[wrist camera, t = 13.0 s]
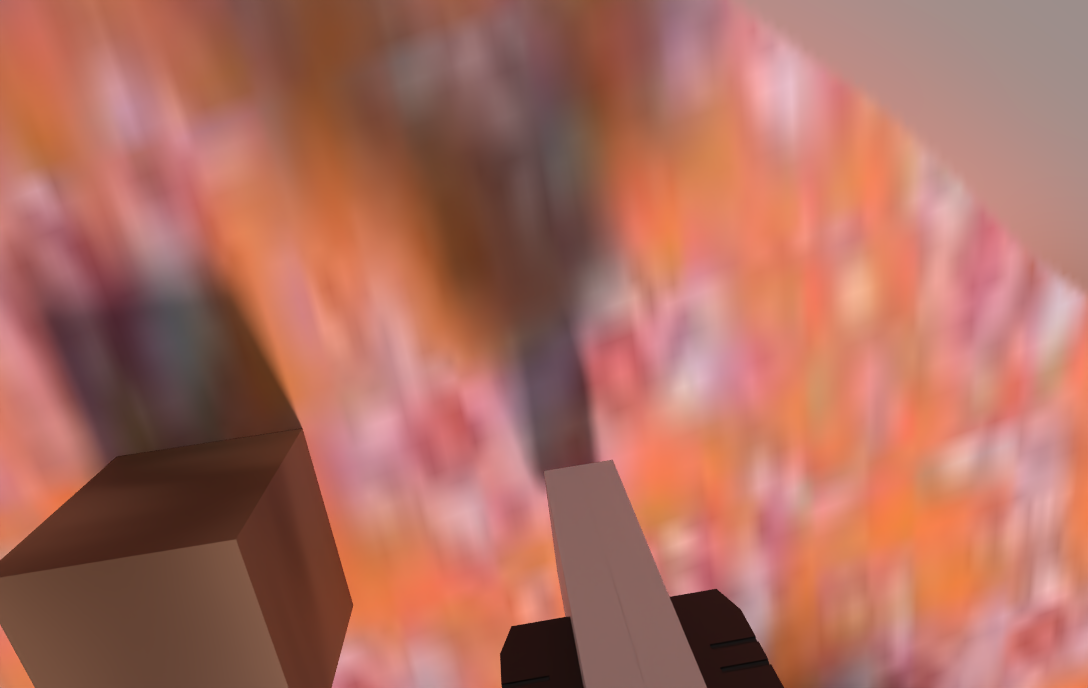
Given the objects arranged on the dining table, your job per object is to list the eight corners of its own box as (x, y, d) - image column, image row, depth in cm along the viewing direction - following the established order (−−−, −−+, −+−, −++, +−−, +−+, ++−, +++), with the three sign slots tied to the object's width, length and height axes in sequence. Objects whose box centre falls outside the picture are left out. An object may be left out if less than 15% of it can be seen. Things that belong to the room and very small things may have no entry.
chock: (191, 629, 15) (94, 797, 11) (119, 454, 13) (-24, 581, 9) (353, 602, 15) (313, 757, 11) (303, 426, 13) (235, 539, 10)
